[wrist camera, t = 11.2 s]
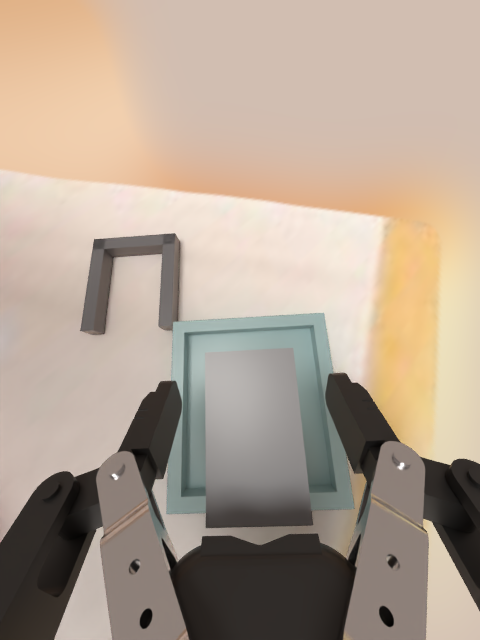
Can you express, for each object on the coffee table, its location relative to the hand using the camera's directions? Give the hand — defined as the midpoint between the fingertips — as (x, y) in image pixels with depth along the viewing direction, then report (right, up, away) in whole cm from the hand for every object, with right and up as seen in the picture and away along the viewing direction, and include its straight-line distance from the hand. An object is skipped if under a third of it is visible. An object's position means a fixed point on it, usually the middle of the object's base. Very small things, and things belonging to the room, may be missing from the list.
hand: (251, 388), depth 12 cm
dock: (-11, +7, +11) cm, 17 cm away
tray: (0, -3, +7) cm, 8 cm away
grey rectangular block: (0, -3, +7) cm, 7 cm away
